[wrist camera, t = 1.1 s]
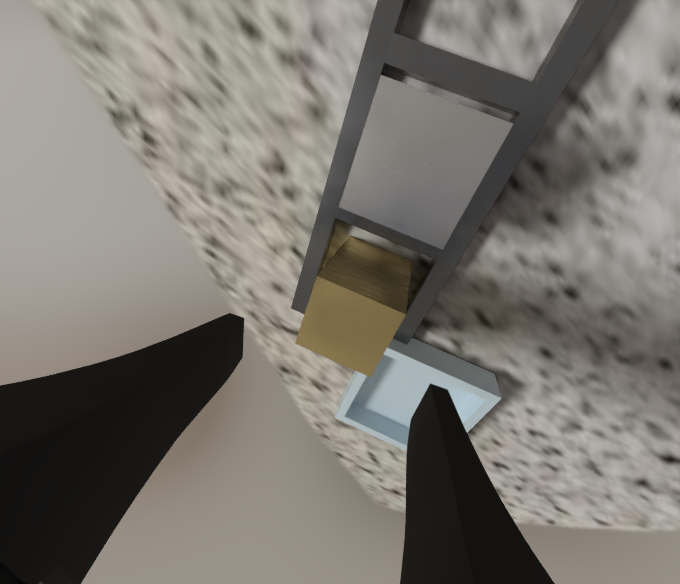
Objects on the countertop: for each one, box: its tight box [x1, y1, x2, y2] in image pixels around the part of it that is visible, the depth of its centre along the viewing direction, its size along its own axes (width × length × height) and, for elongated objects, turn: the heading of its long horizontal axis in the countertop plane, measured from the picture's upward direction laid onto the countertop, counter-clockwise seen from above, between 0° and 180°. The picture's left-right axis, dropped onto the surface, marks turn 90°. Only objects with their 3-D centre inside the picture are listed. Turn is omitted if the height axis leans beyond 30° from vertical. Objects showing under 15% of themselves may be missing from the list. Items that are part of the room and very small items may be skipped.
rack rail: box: [291, 0, 618, 345], centre depth 14 cm, size 8×22×1 cm, turn 162°
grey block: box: [339, 75, 513, 250], centre depth 12 cm, size 4×4×6 cm
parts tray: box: [335, 338, 502, 451], centre depth 20 cm, size 8×8×2 cm
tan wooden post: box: [296, 236, 412, 377], centre depth 15 cm, size 4×4×6 cm
